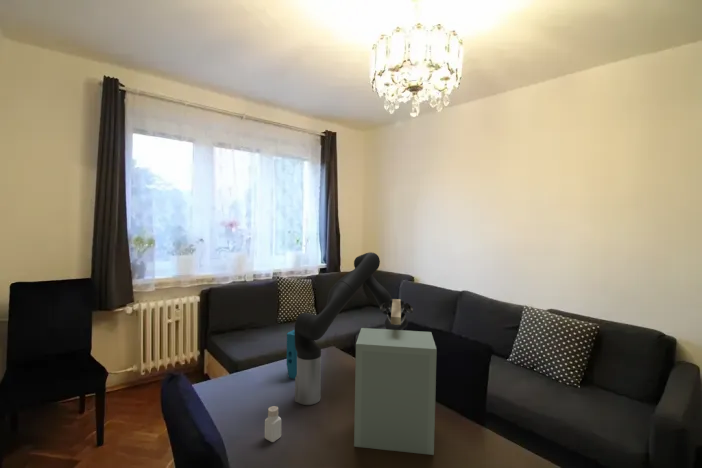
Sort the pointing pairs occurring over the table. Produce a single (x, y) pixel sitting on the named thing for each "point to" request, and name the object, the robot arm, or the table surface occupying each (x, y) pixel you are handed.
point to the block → (291, 355)
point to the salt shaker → (273, 424)
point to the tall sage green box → (395, 390)
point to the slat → (396, 312)
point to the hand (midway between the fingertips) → (396, 302)
